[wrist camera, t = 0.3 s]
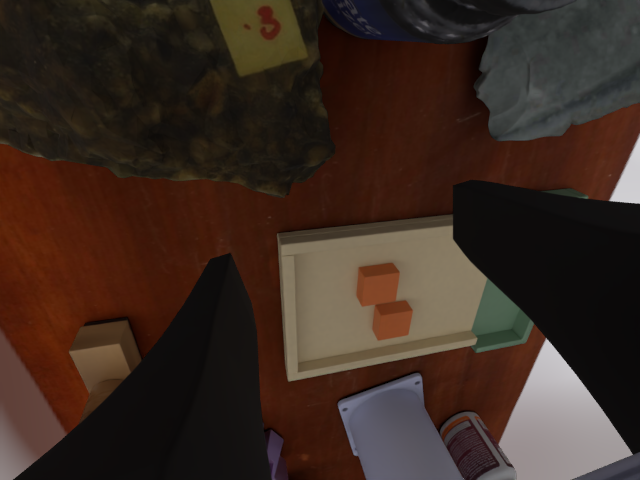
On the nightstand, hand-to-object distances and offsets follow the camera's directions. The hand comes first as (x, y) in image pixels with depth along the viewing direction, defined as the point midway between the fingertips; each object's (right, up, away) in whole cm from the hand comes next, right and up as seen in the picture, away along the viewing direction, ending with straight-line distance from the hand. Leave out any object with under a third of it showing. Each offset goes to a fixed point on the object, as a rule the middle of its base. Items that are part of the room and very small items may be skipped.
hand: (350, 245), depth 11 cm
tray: (+4, -4, +15) cm, 16 cm away
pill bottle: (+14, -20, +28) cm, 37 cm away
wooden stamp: (-14, -8, +13) cm, 21 cm away
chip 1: (+3, -3, +13) cm, 14 cm away
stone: (+11, +12, +8) cm, 18 cm away
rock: (-8, +8, +5) cm, 12 cm away
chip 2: (+4, -5, +16) cm, 17 cm away
